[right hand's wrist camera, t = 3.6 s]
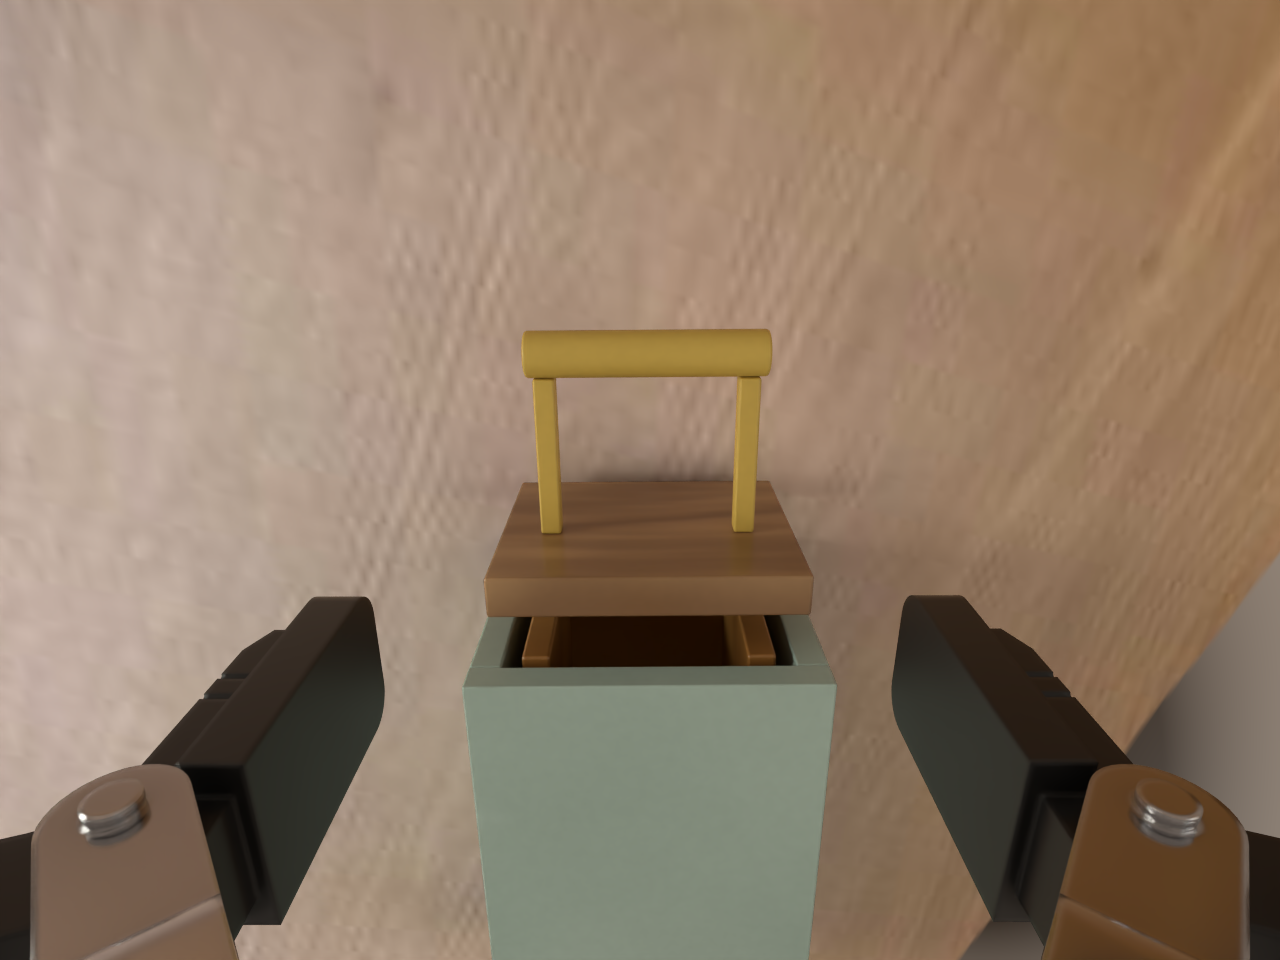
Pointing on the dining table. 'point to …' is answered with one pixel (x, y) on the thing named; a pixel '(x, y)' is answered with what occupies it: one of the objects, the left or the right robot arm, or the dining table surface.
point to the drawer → (647, 525)
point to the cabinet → (650, 801)
